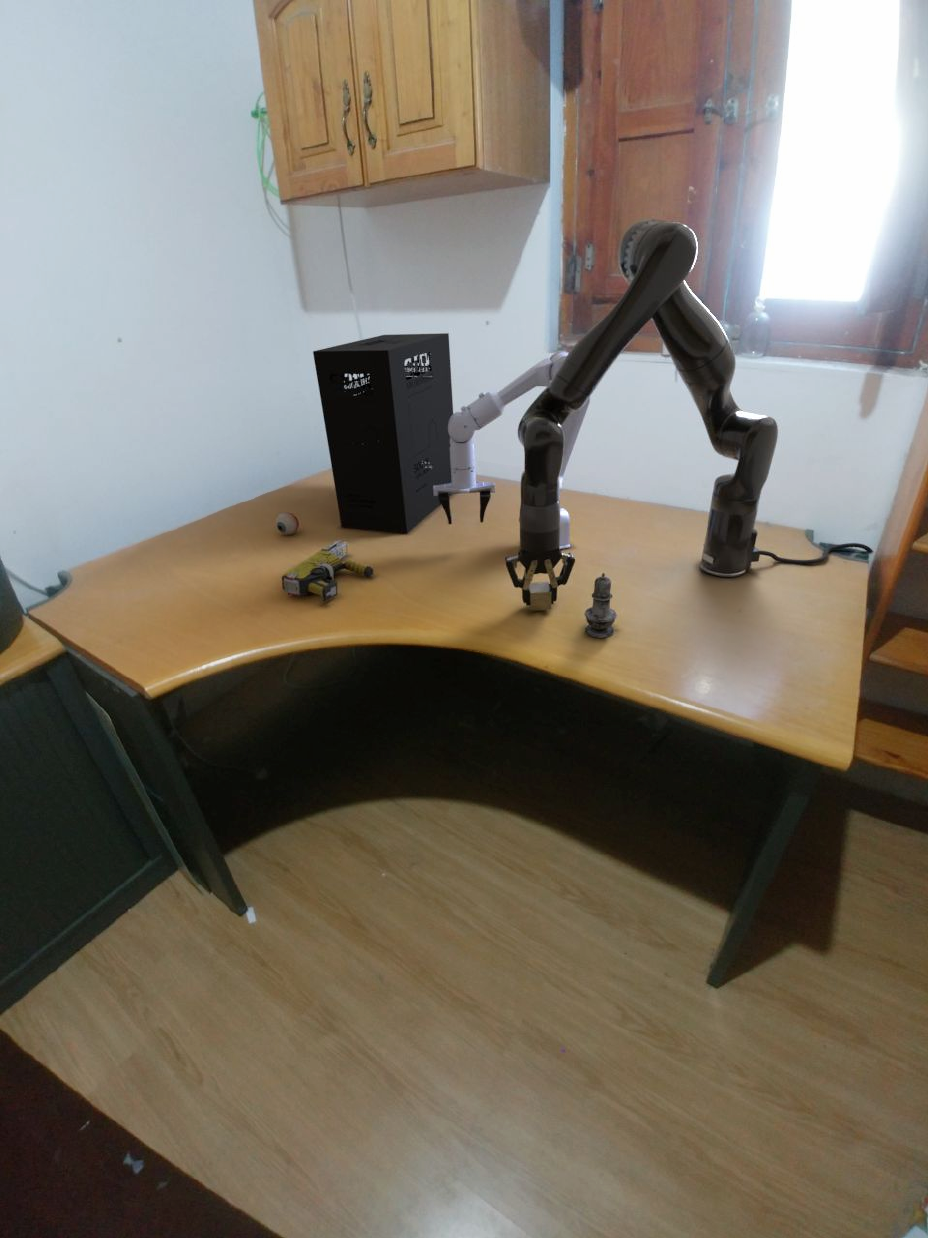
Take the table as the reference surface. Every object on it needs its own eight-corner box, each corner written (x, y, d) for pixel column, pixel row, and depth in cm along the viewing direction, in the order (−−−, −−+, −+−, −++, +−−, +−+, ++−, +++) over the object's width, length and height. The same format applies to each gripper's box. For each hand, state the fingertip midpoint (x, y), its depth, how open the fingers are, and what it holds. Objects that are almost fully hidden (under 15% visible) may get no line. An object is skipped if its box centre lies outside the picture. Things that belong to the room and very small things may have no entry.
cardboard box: (400, 485, 198) (384, 334, 175) (457, 489, 191) (448, 333, 169) (341, 526, 168) (312, 351, 145) (407, 533, 161) (388, 350, 139)
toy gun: (389, 548, 145) (334, 537, 149) (339, 588, 125) (277, 575, 129) (389, 566, 147) (335, 555, 151) (340, 608, 127) (279, 595, 131)
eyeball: (273, 537, 164) (268, 516, 161) (287, 528, 169) (282, 508, 166) (291, 539, 161) (286, 518, 158) (305, 530, 166) (301, 510, 163)
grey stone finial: (615, 639, 110) (620, 580, 104) (583, 637, 112) (586, 579, 106) (615, 623, 115) (620, 566, 109) (584, 621, 117) (587, 565, 111)
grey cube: (527, 600, 124) (527, 582, 122) (548, 599, 124) (548, 581, 122) (530, 610, 120) (530, 593, 118) (551, 609, 120) (551, 591, 118)
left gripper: (431, 473, 136) (435, 529, 143) (495, 469, 136) (496, 526, 143) (432, 464, 143) (436, 519, 149) (493, 461, 142) (494, 515, 149)
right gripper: (503, 533, 110) (505, 614, 119) (581, 528, 110) (578, 610, 118) (500, 518, 116) (502, 596, 125) (574, 513, 116) (571, 592, 125)
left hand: (465, 521), depth 147 cm, fingers open, 7 cm apart
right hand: (539, 602), depth 122 cm, fingers closed on grey cube, 4 cm apart
